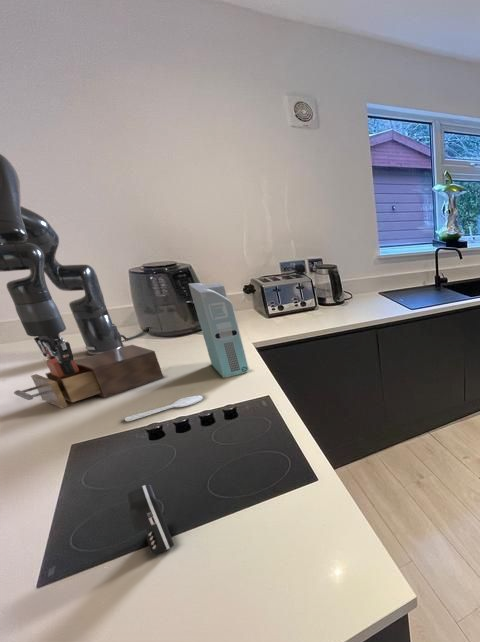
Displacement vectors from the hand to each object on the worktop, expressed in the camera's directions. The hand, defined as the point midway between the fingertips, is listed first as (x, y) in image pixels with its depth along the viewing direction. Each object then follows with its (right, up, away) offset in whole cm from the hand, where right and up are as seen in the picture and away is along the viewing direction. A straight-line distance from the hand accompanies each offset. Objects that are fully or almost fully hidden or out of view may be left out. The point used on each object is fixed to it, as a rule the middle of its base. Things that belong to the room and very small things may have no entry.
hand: (65, 371), depth 117 cm
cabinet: (+4, -4, +13) cm, 15 cm away
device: (+30, 0, +26) cm, 40 cm away
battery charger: (+67, -30, -44) cm, 85 cm away
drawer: (0, -8, +3) cm, 8 cm away
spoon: (+31, -11, -1) cm, 32 cm away
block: (0, 0, 0) cm, 0 cm away
